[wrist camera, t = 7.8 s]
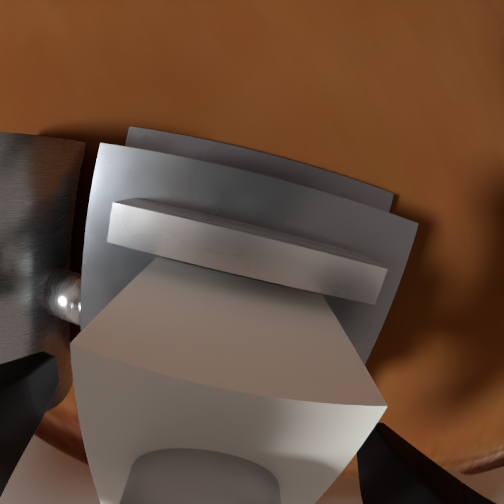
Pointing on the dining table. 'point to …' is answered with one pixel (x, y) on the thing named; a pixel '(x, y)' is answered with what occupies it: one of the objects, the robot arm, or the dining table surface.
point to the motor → (184, 232)
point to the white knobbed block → (218, 391)
